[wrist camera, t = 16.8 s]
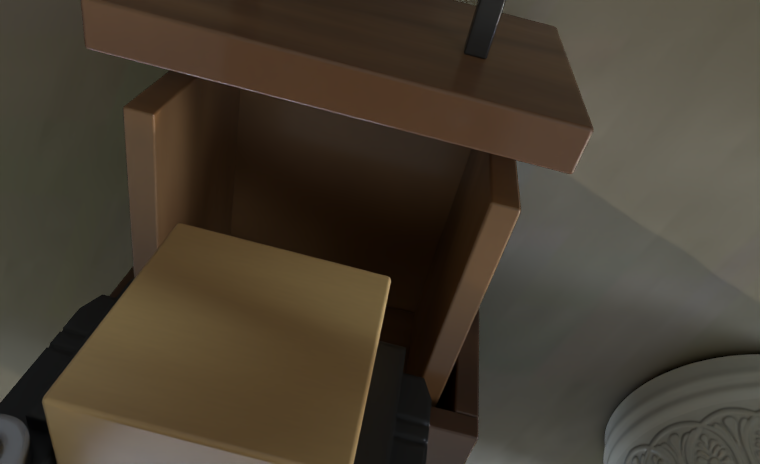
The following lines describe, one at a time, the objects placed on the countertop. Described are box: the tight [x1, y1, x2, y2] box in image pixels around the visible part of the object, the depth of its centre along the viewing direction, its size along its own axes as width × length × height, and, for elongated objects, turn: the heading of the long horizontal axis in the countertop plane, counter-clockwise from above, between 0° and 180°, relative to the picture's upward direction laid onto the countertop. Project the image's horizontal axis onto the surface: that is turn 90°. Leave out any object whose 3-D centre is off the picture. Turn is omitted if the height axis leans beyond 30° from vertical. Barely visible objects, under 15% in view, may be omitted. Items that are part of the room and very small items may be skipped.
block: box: [42, 223, 391, 464], centre depth 11 cm, size 4×4×4 cm
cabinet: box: [110, 267, 479, 464], centre depth 26 cm, size 15×13×10 cm
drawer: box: [81, 0, 593, 407], centre depth 18 cm, size 18×11×8 cm, turn 169°
